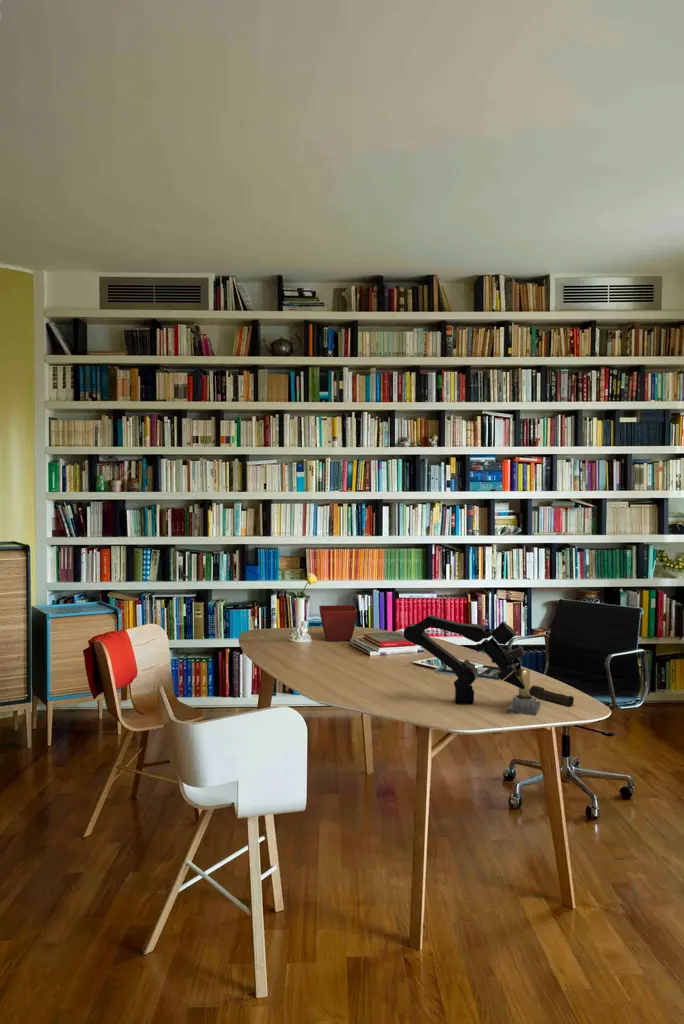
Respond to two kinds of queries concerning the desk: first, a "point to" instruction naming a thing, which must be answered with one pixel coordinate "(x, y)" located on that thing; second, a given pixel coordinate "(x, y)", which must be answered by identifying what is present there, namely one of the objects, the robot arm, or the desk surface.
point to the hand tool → (551, 696)
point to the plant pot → (338, 621)
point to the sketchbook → (483, 672)
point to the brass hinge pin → (524, 683)
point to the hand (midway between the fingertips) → (525, 685)
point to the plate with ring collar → (524, 705)
